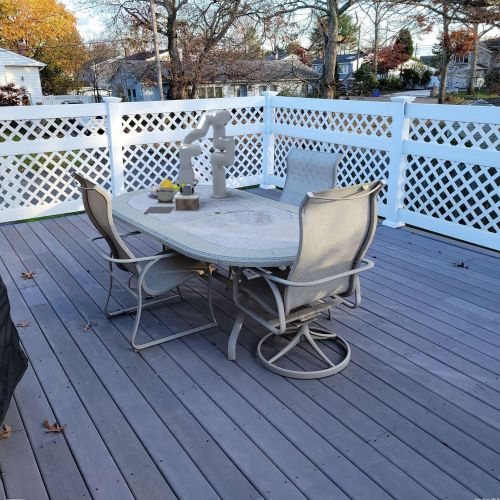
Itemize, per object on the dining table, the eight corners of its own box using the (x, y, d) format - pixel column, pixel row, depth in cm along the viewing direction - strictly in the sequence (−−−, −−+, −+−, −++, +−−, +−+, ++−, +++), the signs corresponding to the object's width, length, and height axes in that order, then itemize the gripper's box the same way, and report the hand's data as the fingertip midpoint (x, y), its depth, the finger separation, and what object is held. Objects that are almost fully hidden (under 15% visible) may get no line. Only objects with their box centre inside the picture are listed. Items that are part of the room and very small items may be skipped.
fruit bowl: (142, 198, 341) (141, 182, 337) (160, 190, 365) (158, 175, 362) (178, 201, 333) (177, 185, 329) (194, 192, 358) (193, 177, 354)
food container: (176, 202, 331) (175, 187, 327) (174, 204, 325) (173, 189, 322) (159, 201, 332) (157, 187, 329) (156, 203, 326) (155, 189, 323)
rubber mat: (174, 207, 316) (174, 206, 316) (169, 214, 301) (169, 213, 300) (150, 207, 317) (150, 206, 316) (144, 214, 302) (144, 212, 301)
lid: (200, 193, 318) (200, 184, 316) (196, 199, 304) (196, 189, 302) (177, 193, 319) (177, 184, 317) (173, 198, 305) (172, 189, 303)
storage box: (199, 205, 320) (198, 194, 318) (196, 210, 308) (195, 198, 305) (179, 205, 321) (179, 194, 318) (176, 210, 309) (175, 198, 306)
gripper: (200, 165, 308) (201, 192, 314) (173, 165, 309) (174, 192, 315) (198, 167, 301) (199, 195, 307) (170, 167, 302) (172, 195, 308)
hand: (187, 193), depth 311 cm, fingers open, 6 cm apart
